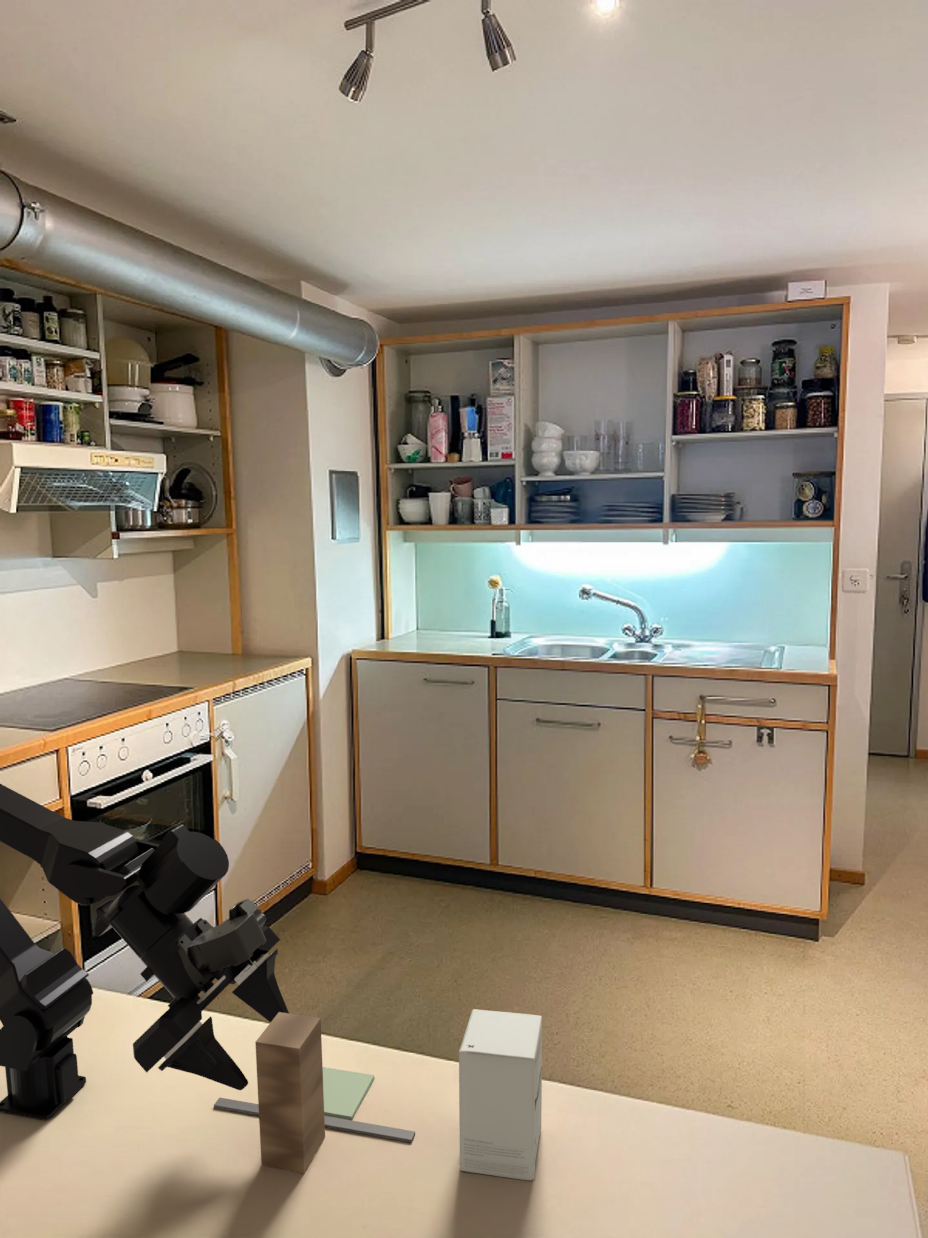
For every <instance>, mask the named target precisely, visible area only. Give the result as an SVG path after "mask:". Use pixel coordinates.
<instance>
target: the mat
mask: <svg viewBox="0 0 928 1238" xmlns="http://www.w3.org/2000/svg"><path fill="white" fill-rule="evenodd" d="M322 1067H323V1094H324V1116H329V1117H335V1118H341V1119H346V1120H352V1121H353V1119H354V1117H355V1115H356V1114H357V1112H358V1110H359V1108H360V1106H361V1104H362V1102H363V1101H364V1098H365V1097H366V1095H367V1093H368V1091H369V1089H370V1088H371V1085H372V1084H373V1082H374V1080H375V1074H370V1073H363V1072H356V1071H352V1070H351V1071H350V1070H344V1069H337V1068H331V1067H327V1066H326V1067H325V1066H322Z"/></svg>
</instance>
